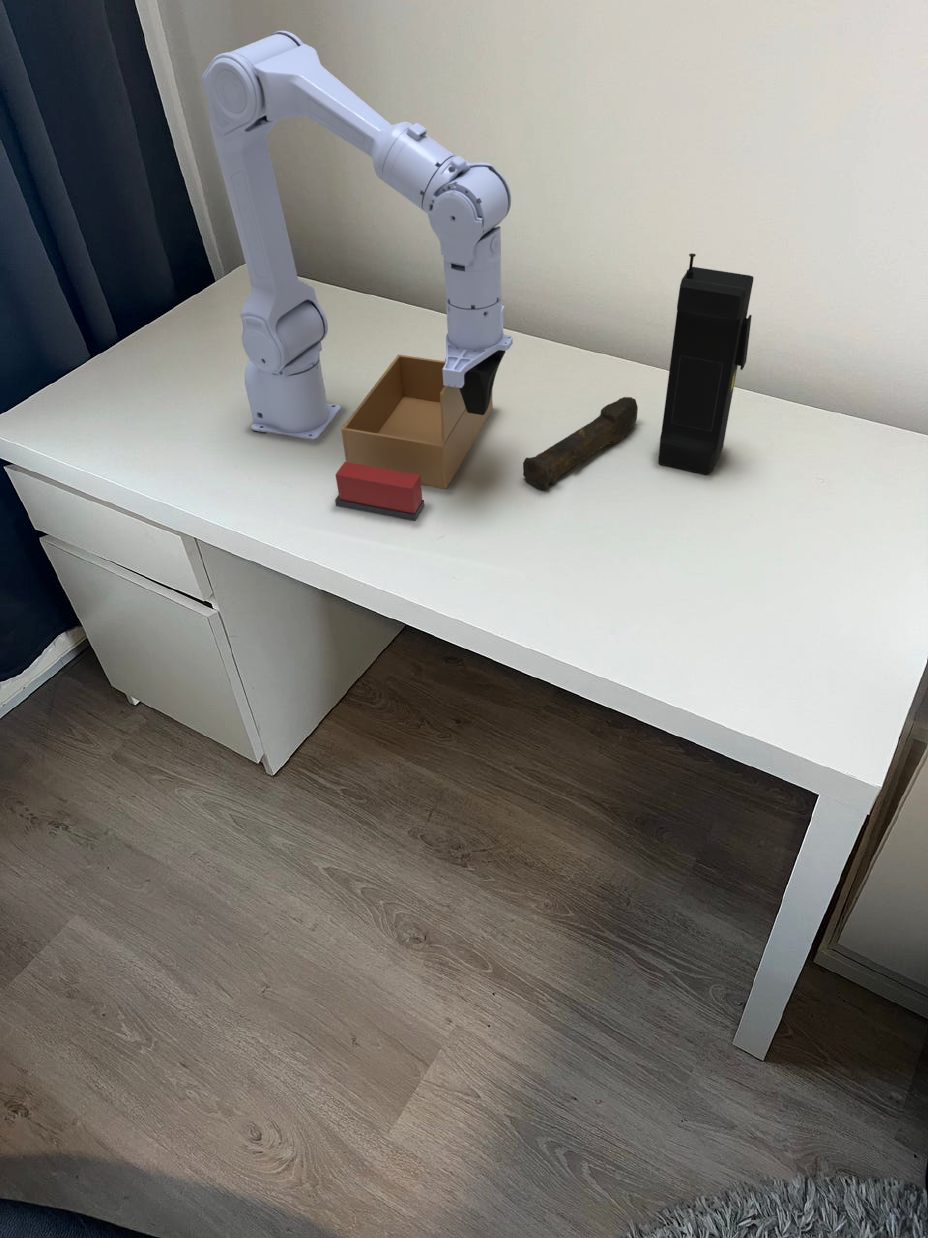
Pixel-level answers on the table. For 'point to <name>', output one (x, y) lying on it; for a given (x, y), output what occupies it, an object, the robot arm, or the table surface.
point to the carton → (410, 424)
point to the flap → (450, 409)
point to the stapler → (379, 491)
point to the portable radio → (704, 366)
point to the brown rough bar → (581, 443)
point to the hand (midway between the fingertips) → (477, 410)
